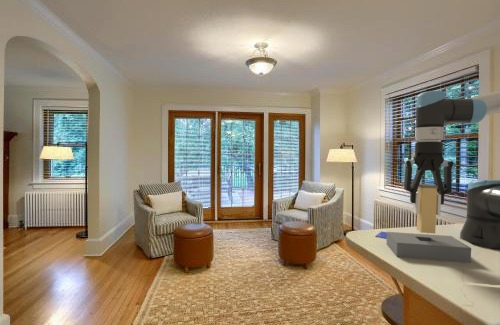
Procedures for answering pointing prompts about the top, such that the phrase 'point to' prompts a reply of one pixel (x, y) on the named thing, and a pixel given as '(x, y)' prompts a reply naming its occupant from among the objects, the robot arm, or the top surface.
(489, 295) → the top surface
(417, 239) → the socket block
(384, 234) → the hard drive
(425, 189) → the plug
